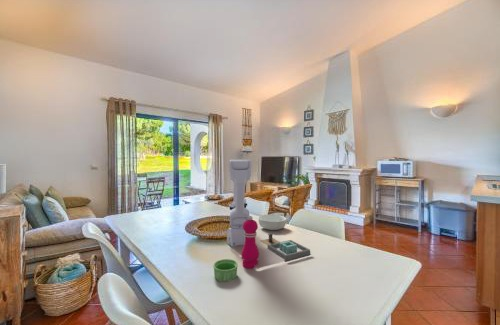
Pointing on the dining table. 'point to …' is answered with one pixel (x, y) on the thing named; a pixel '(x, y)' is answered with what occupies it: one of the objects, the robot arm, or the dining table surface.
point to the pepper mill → (250, 244)
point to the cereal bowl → (272, 222)
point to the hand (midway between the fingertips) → (238, 217)
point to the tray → (292, 255)
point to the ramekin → (225, 269)
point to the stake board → (269, 240)
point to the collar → (288, 247)
